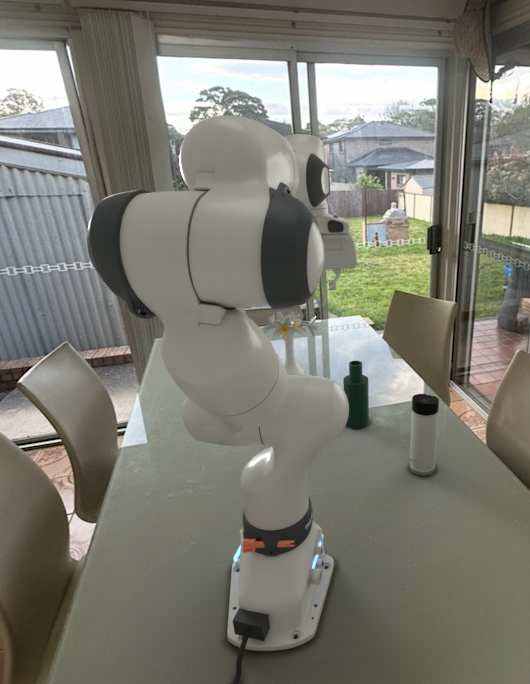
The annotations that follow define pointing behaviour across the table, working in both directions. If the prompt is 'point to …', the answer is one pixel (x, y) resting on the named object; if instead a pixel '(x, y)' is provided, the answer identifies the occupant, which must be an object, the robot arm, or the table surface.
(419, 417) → the travel mug
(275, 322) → the flower vase
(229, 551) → the table surface
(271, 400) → the robot arm
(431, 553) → the table surface
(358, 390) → the green bottle
